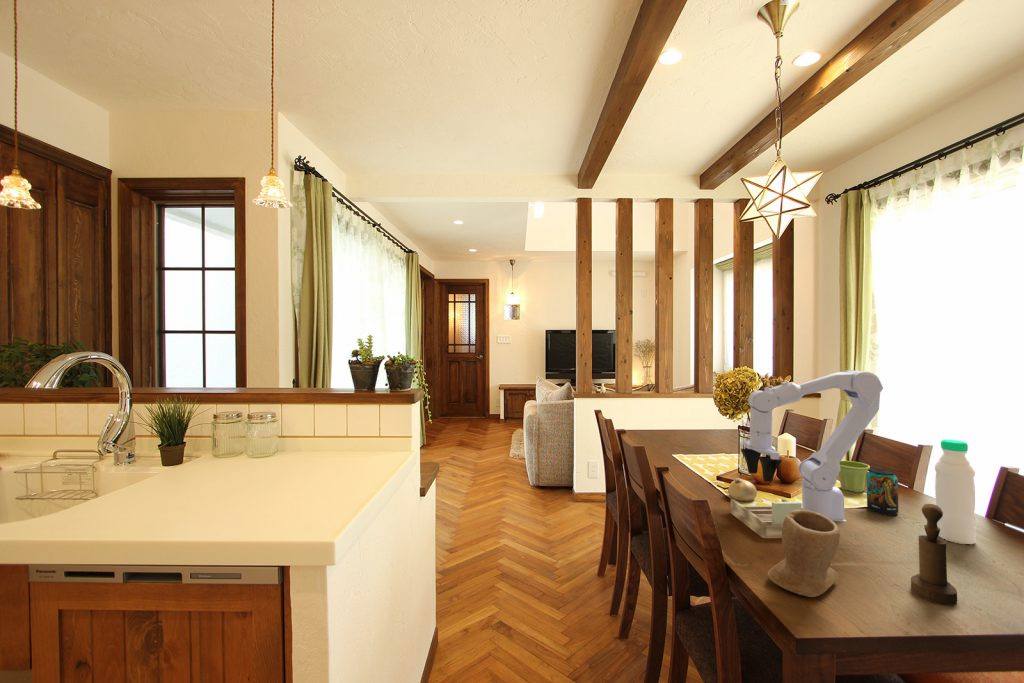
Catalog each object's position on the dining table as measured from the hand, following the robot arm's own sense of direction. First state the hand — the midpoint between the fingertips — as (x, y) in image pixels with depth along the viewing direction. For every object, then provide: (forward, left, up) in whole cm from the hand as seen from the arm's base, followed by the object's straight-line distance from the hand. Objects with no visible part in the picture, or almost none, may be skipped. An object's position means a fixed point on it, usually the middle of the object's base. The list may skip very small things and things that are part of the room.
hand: (760, 477), depth 126 cm
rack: (+2, +10, -10) cm, 14 cm away
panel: (+2, +15, -10) cm, 18 cm away
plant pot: (-42, -19, -11) cm, 48 cm away
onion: (0, -10, -11) cm, 15 cm away
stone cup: (+12, +38, -11) cm, 41 cm away
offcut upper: (+2, +10, -9) cm, 13 cm away
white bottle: (-39, +18, -11) cm, 44 cm away
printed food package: (-36, 0, -11) cm, 38 cm away
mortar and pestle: (-10, +42, -11) cm, 44 cm away
